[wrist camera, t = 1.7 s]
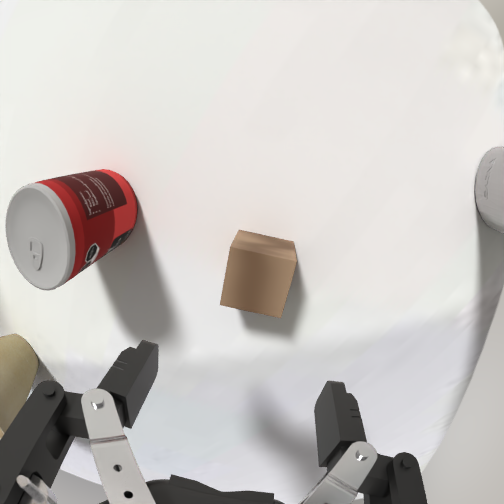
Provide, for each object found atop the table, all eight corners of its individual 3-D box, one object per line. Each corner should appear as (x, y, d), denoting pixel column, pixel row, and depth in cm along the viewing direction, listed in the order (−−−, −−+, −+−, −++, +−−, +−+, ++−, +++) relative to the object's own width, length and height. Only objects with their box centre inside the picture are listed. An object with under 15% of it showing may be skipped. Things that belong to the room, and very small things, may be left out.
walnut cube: (293, 241, 26) (296, 261, 21) (280, 290, 28) (280, 318, 23) (239, 229, 26) (230, 246, 21) (229, 279, 28) (219, 304, 23)
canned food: (84, 244, 28) (16, 286, 18) (76, 171, 25) (-2, 189, 15) (143, 246, 27) (80, 297, 17) (138, 165, 25) (62, 178, 14)
